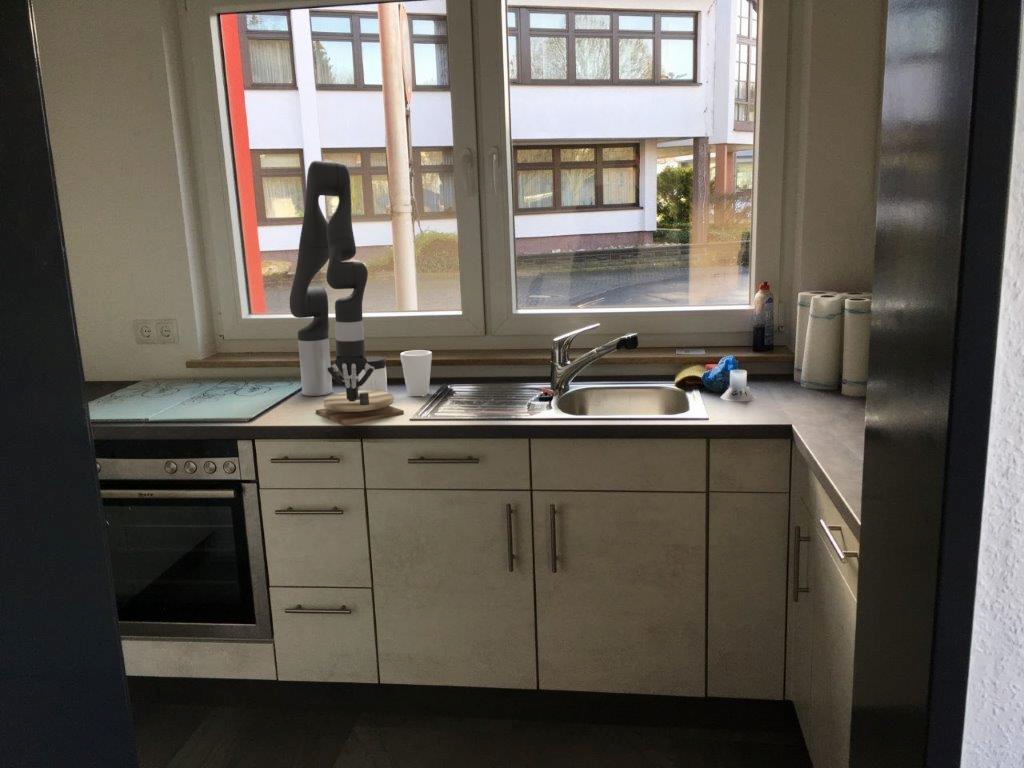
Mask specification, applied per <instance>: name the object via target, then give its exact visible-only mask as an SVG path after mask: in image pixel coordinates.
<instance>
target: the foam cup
mask: <svg viewBox="0 0 1024 768" xmlns="http://www.w3.org/2000/svg"><path fill="white" fill-rule="evenodd" d="M432 360H433V352H432V351H430V350H423V349H415V350H406V351H403V352H400V362H401V366H402V371H403V377H404V382H405V387H406V388H405V389H406V393H407V396H408V395H409V396H408V397H411V396H422V397H424V396H423V395H426V394H428V395H429V392H430V381H431V369H432V368H431V367H432ZM426 396H427V395H426Z"/></svg>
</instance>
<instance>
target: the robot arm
mask: <svg viewBox="0 0 1024 768" xmlns="http://www.w3.org/2000/svg"><path fill="white" fill-rule="evenodd" d="M305 187H306V189H305V202H304V203H305V204H304V210H303V211H304V212H303V218H302V219H303V221H302V226H301V229H300V230H301V231H300V235H299V245H298V252H297V253H298V254H297V261H296V268H295V273H294V277H293V281H292V286H291V289H290V294H289V309H290V310H289V311H290V314H291V315H292V316H293V317H295V318H298V319H304V318H312V319H313V320H312V321H311V322H310V323H309V324H308V325H306V326H304V327H302V328H300V329H299V330H298V331H297V341H298V352H299V353H298V355H299V368H300V377H301V378H300V380H301V394H302V395H303V396H307V397H315V396H316V397H318V396H324V395H325V396H327V395H329V394H332V393H333V381H332V378H333V379H334V380H335V381H336V382H337V384H338V385H339V386H342V387H344V388H345V390H346V391H345V392H346V395H347V399H349V402H355V401H356V399H357V398H358V391H359V386H362V385H363V384H364V383H365V382H366V381H367V379H368V378H369V377H370V375H371V374H372V373H373V371H374V370H375V367H373V366H372V367H371V366H370V365H369V364H368V363H367V360H366V358H365V357H366V352H365V351H366V350H365V349H366V345H365V327H364V321H363V319H364V318H363V300H364V295H365V289H366V285H367V282H368V277H369V273H368V269H367V266H366V265H365V263H363V262H362V261H349V260H351V259H353V258H354V257H355V255H356V253H357V246H356V242H355V236H354V230H353V221H352V191H351V189H352V188H351V175H350V171H349V168H348V166H347V164H345V163H343V162H337V161H330V160H329V161H327V160H312V161H311V162H310V164H309V165H308V169H307V176H306V185H305ZM320 196H327V197H337V198H338V204H337V206H336V208H335V210H334V212H333V214H332V215H331V217H330V218H329V221H327V219H326V217H325V216H324V213H323V211H322V209H321V207H320V201H319V199H320ZM327 262H328V264H327ZM326 264H327V269H326V282H327V284H328V286H329V287H331V288H332V289H334V290H349V289H351V290H352V292H351V294H349V295H348V296H344V297H340V298H338V299H336V300H335V303H334V315H335V316H334V317H335V327H334V333H335V353H336V354H335V355H336V357H335V360H334V364H331V353H330V350H331V349H330V340H329V339H330V338H329V329H330V324H329V320H330V319H329V298H328V293H327V291H326V289H325V288H324V287H323V286H320V285H318V286H317V285H316V286H310V284H311V282H312V280H313V279H314V278H315V276H316V275H317V274H318V273H319V272H320V271H321V270H322V268H323V267H325V265H326ZM364 367H365V375H364V376H363V377H362V379H361V380H360V381H359V374H360V373H361V371H362V370H363V369H364ZM339 371H340V372H341V373H340V372H339ZM342 375H343V376H342Z"/></svg>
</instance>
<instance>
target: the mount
mask: <svg viewBox="0 0 1024 768" xmlns="http://www.w3.org/2000/svg"><path fill="white" fill-rule="evenodd" d="M404 411H405V410H403V409H400V408H398V407H395V406H392V405H389V406H386V407H383V408H379V409H374V410H368V411H356V412H343V411H334V410H329V409H327V408H325V407H324V408H319V409H315V414H317V415H319V416H321V417H323V418H326V419H329V420H331V421H333V422H336V423H339V424H341V425H343V426H350V425H355V423H356V424H360V423H365V421H366V422H370V420H371V421H376V420H380V419H385V418H390V417H395V416H400V415H403V414H405V412H404ZM375 419H376V420H375Z"/></svg>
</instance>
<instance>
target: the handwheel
mask: <svg viewBox="0 0 1024 768" xmlns="http://www.w3.org/2000/svg"><path fill="white" fill-rule="evenodd" d="M393 396H394V395H393V394H391V393H389V392H388V391H387V392H382V391H360V390H358V398H357V399H356V401H355V402H349V399H347V395H346V391H345V392H339V393H335V394H332V395H328V396H327V397H325V398H324V399H323V407H324V408H327V409H329V410H334V411H343V412H356V411H368V410H374V409H379V408H383V407H386V406H392V404H393V403H394V397H393Z"/></svg>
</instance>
